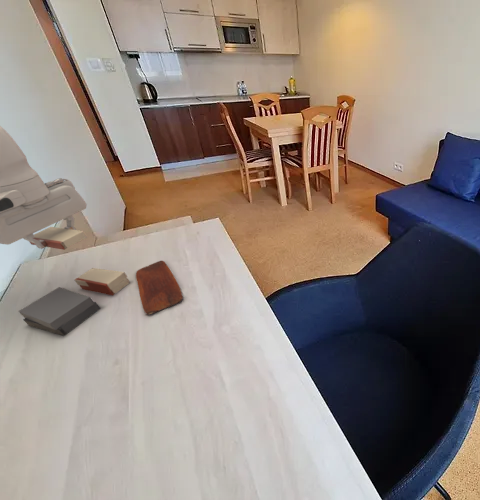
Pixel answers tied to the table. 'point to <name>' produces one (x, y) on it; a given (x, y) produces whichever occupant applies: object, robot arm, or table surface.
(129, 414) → the table surface
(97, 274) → the white book pile
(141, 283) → the wooden tablet
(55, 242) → the white book
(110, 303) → the table surface
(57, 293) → the grey book pile
